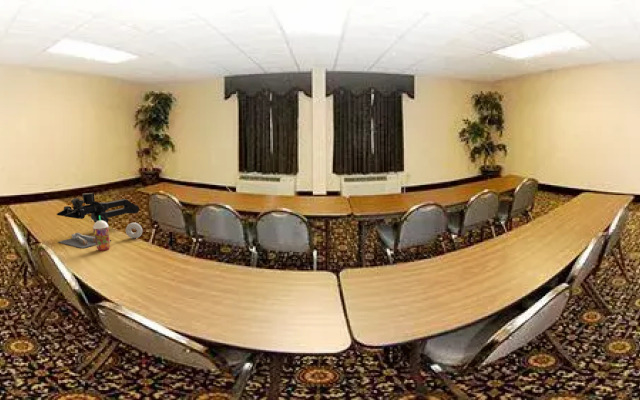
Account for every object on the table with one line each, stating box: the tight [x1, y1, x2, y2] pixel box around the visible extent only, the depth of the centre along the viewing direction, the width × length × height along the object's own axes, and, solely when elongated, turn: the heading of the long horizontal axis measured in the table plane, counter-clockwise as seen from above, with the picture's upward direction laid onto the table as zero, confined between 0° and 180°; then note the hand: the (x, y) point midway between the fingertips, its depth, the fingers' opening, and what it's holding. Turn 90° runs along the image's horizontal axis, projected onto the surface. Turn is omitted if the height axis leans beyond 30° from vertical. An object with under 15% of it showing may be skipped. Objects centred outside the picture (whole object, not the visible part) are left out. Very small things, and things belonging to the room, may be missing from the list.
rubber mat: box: [58, 234, 112, 250], centre depth 295 cm, size 18×27×1 cm, turn 55°
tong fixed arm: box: [71, 232, 96, 242], centre depth 296 cm, size 23×4×4 cm, turn 56°
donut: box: [125, 222, 143, 239], centre depth 298 cm, size 10×4×10 cm, turn 94°
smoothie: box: [92, 216, 111, 252], centre depth 275 cm, size 8×8×20 cm
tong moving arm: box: [75, 235, 87, 245], centre depth 292 cm, size 18×2×2 cm, turn 42°
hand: (60, 215), depth 295 cm, fingers open, 9 cm apart
